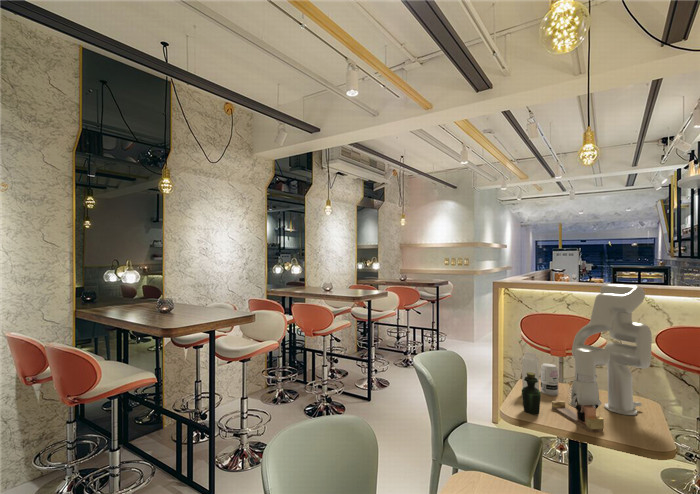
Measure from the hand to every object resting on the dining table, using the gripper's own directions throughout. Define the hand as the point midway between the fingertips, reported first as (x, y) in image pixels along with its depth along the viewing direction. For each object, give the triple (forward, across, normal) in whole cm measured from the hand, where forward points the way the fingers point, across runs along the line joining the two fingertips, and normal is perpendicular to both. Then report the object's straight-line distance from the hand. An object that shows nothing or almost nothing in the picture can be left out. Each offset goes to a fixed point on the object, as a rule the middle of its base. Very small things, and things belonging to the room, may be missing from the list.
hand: (586, 419), depth 153 cm
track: (+2, 0, -6) cm, 6 cm away
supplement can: (+2, -10, -36) cm, 38 cm away
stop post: (+1, 0, +5) cm, 5 cm away
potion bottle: (+2, +15, -15) cm, 22 cm away
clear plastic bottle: (+2, +1, -36) cm, 37 cm away
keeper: (+1, 0, 0) cm, 1 cm away
